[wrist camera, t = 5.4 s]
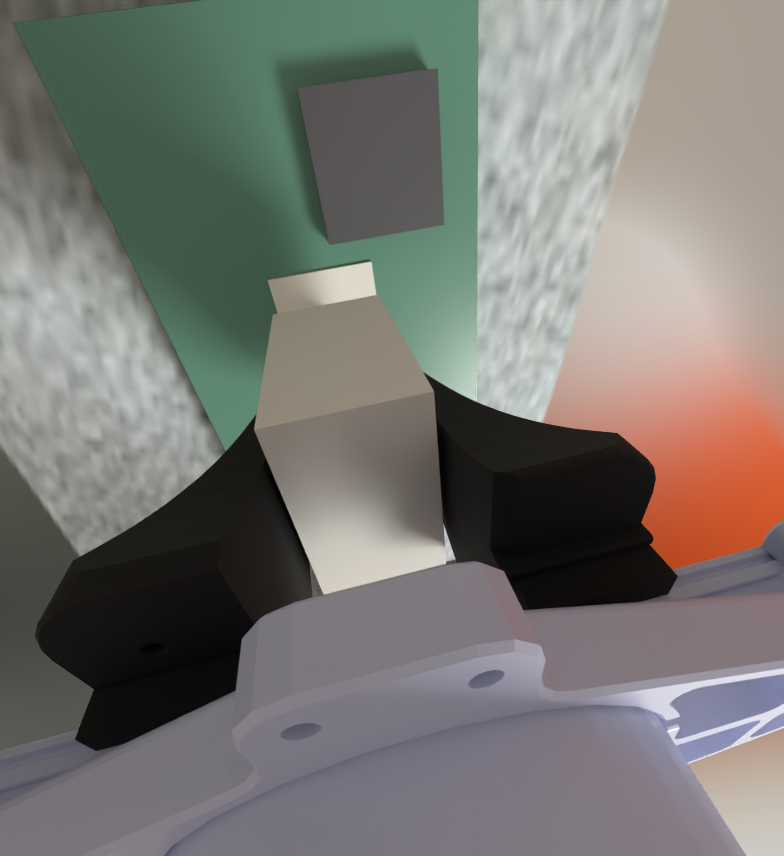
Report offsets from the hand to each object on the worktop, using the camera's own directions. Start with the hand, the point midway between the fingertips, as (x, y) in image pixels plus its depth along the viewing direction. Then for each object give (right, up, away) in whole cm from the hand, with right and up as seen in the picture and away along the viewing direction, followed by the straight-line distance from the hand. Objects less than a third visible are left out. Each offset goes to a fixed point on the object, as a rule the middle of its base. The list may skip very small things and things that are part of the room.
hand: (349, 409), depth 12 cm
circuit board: (-1, +5, +4) cm, 7 cm away
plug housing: (0, +1, +1) cm, 2 cm away
